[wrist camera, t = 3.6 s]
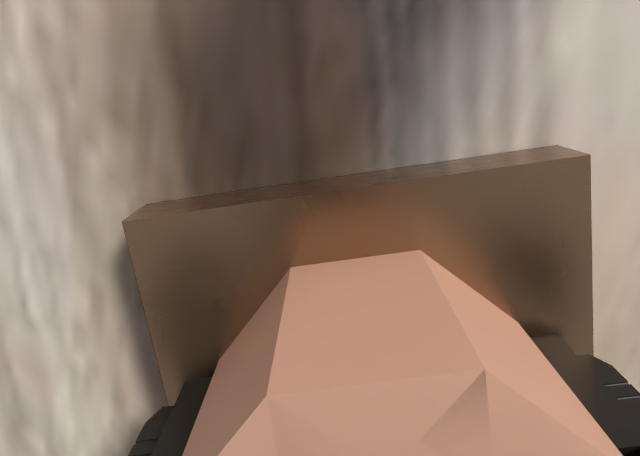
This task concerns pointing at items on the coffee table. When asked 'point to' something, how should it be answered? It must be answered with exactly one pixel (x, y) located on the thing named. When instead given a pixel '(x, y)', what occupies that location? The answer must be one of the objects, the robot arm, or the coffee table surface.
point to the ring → (387, 372)
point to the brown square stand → (369, 246)
